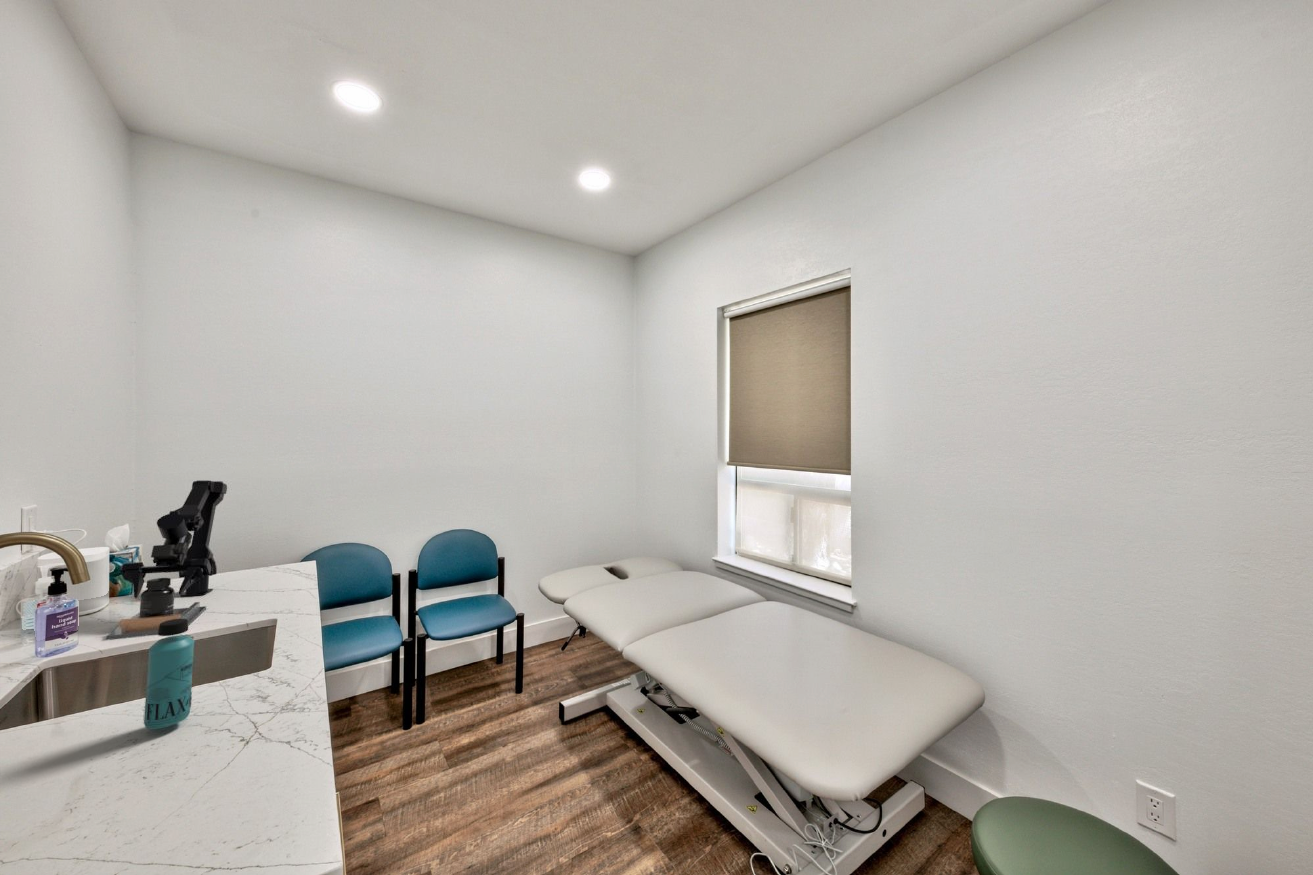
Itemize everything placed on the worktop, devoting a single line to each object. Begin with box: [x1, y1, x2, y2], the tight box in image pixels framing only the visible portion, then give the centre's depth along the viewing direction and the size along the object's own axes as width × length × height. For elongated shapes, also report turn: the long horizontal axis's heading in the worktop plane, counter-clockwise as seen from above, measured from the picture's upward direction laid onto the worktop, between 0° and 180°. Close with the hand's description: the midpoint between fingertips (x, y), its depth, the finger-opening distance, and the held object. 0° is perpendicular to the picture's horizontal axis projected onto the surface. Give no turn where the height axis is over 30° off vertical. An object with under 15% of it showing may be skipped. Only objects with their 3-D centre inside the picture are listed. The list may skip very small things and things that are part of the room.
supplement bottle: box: [139, 577, 176, 618], centre depth 141 cm, size 7×7×12 cm
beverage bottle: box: [142, 619, 195, 730], centre depth 94 cm, size 6×7×20 cm
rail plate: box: [106, 601, 207, 640], centre depth 142 cm, size 20×15×4 cm
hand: (158, 595), depth 140 cm, fingers open, 9 cm apart
